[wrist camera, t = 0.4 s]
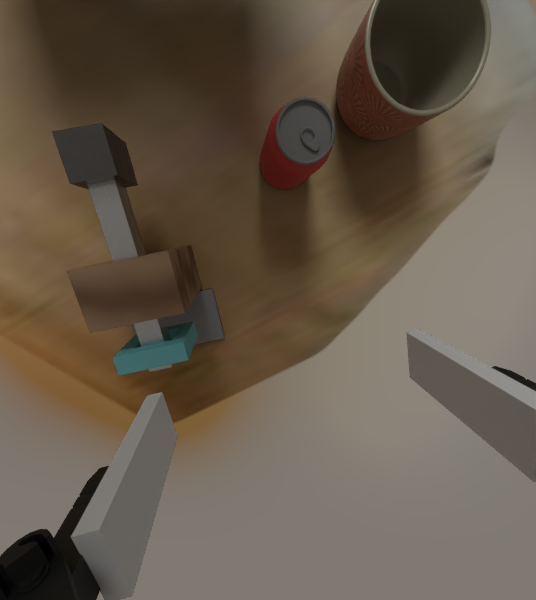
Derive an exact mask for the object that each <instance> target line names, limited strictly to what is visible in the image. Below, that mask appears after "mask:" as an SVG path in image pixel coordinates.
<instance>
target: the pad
mask: <svg viewBox="0 0 536 600" xmlns="http://www.w3.org/2000/svg"><path fill="white" fill-rule="evenodd" d="M165 320H166V323H167V327H168V326H173V325H177V324H182V323H187V322H192V321H194V323H195V327H196V331H197V334H198V337H197V339H196V342H195V345H197V344H201V343H206V342H210V341H215V340H219V339H224V338H225V337H224V332H223V328H222V324H221V320H220V316H219V312H218V308H217V304H216V300H215V296H214V292H213V288H211V289H206V290H201V291H199V292H198V294H197V295H196V297H195V298H194V300H193V301H192V303H191V305H190V306H189V308H188V309H187V311H186V312H185V313H182V314H178V315H173V316H168V317H165ZM132 325H133V328H134V331H135V334H137V333H136V330H135V327H134V324H132Z"/></svg>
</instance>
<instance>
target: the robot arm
mask: <svg viewBox="0 0 536 600" xmlns="http://www.w3.org/2000/svg"><path fill="white" fill-rule="evenodd" d="M407 344H408V357H409V371H410V378H411V379H412V380H414V381H415V382H416V383H417V384H418V385H419V386H421V387H422V388H423V389H424V390H425V391H427V392H428V393H429V394H430V395H431V396H433V397H434V398H435V399H436V400H437V401H438V402H440V403H441V404H442V405H443V406H445V407H446V408H447V409H448V410H449V411H450V412H451V413H453V414H454V415H455V416H456V417H457V418H459V419H460V420H461V421H462V422H463V423H465V424H466V425H467V426H468V427H469V428H470V429H472V430H473V431H474V432H475V433H476V434H478V435H479V436H480V437H481V438H482V439H483V440H485V441H486V442H487V443H488V444H489V445H491V446H492V447H493V448H494V449H495V450H496V451H498V452H499V453H500V454H501V455H502V456H504V457H505V458H506V459H507V460H508V461H509V462H511V463H512V464H513V465H514V466H515V467H517V468H518V469H519V470H520V471H521V472H523V473H524V474H525V475H526V476H527V477H529V478H530V479H531V480H532V481H533V482H536V383H534V382H532V381H530V380H528V379H527V380H526V379H525V378H524V377H522V376H520V375H518V374H516V373H514V372H512V371H510V370H506V369H503V368H499V367H496V366H494V367H489V366H488V365H486V364H484V363H482V362H480V361H478V360H476V359H475V358H473V357H471V356H469V355H467V354H465V353H463V352H461V351H460V350H458V349H456V348H454V347H452V346H450V345H448V344H446V343H445V342H443V341H441V340H439V339H437V338H435V337H434V336H432V335H430V334H428V333H426V332H424V331H422V330H421V329H419V330H415V331H411V332H407ZM177 437H178V436H177V433H176V430H175V427H174V424H173V421H172V419H171V416H170V413H169V410H168V407H167V404H166V401H165V399H164V396H163V393H162V392H160V393H156V394H151V395H147V397H146V398H145V400H144V402H143V404H142V406H141V408H140V410H139V411H138V413H137V415H136V417H135V419H134V421H133V423H132V424H131V426H130V428H129V430H128V432H127V434H126V436H125V438H124V439H123V441H122V443H121V445H120V447H119V449H118V450H117V453H116V454H115V456H114V458H113V460H112V462H111V463H110V465H109V466H106V467H102V468H100V469H98V471H97V472H96V473H95V474H94V475H93V476H92V477H91V478H90V479H89V480H88V481H87V483H86V485H85V486H84V488H83V490H82V492H81V493H80V497H78V498H77V500H76V502H75V503H74V505H73V509H71V510H70V512H69V514H68V515H67V517H66V518H65V520H64V522H63V524H62V525H61V527H60V529H59V530H58V532H57V534H56V536H55V537H54V538H53V537H52V535H51V533H50V532H49V531H48V530H47V529H39V530H36V531H34V532H31V533H29V534H27V535H25V536H24V537H22V538H21V539H19V540H17V541H16V542H15V543H14V544H13V545H11V546H10V547H9V548H8V549H7V550H6V551H5V552H4V553H3V554H2V555H1V556H0V600H96V599H97V596H98V594H99V591H100V592H101V594H102V595H103V597H104V599H105V600H120V599H124V598H127V597H131V596H133V592H134V589H135V585H136V582H137V578H138V575H139V571H140V568H141V564H142V561H143V557H144V553H145V550H146V546H147V543H148V539H149V536H150V532H151V529H152V525H153V522H154V518H155V515H156V511H157V507H158V504H159V501H160V497H161V493H162V490H163V486H164V483H165V479H166V476H167V472H168V469H169V465H170V462H171V458H172V455H173V451H174V448H175V444H176V440H177Z"/></svg>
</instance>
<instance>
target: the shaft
mask: <svg viewBox="0 0 536 600" xmlns="http://www.w3.org/2000/svg"><path fill="white" fill-rule="evenodd" d="M52 133H53V136H54V139H55V142H56V145H57V148H58V151H59V153H60V156H61V159H62V162H63V165H64V168H65V171H66V174H67V177H68V179H69V182H70V184H73V185H76V186H80V187H83V188H86V189H89V190H90V193H91V197H92V200H93V203H94V206H95V209H96V212H97V215H98V218H99V221H100V224H101V227H102V230H103V233H104V236H105V239H106V242H107V245H108V248H109V251H110V254H111V257H112V260H113V261H118V260H124V259H129V258H134V257H139V256H144V255H146V253H145V250H144V246H143V243H142V239H141V236H140V233H139V229H138V226H137V223H136V219H135V216H134V213H133V209H132V206H131V203H130V199H129V196H128V193H127V189H126V187H131V186H137V185H138V184H137V181H136V177H135V174H134V170H133V167H132V163H131V160H130V156H129V153H128V149H127V146H126V143H125V142H124V141H123V140H121V139H120V138H119V137H118V136H117V135H115V134H114V133H113V132H112V131H111V130H109V129H108V128H107V127H106V126H104V125H103V124H102V123H101V124H95V125H89V126H83V127H77V128H70V129H64V130H58V131H52ZM134 327H135V330H136V333H137V336H138V339H139V342H140V345H141V347H142V346H147V345H151V344H156V343H160V342H165V341H170V340H171V337H170V333H169V330H168V327H167V323H166V320H165V317H163V318H159V319H154V320H149V321H144V322H140V323H135V324H134ZM172 366H173V364H170V365H165V366H161V367H156V368H152V369H149V372H153V371H157V370H162V369H166V368H171V367H172Z"/></svg>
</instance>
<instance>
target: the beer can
mask: <svg viewBox="0 0 536 600" xmlns="http://www.w3.org/2000/svg"><path fill="white" fill-rule="evenodd" d="M334 138H335V124H334V119H333V117H332V115H331V113H330V111H329V109H328V108H327V107H326V106H325V105H324V104H323V103H322V102H320V101H318V100H317V99H315V98H310V97H301V98H296V99H294V100H292V101H291V102H289V103H287V104H286V105H285V106H283V107H282V108H281V109H280V110H279V111H278V112H277V113H276V115H275V116H274V117H273V118H272V121H271V123H270V126H269V128H268V132H267V135H266V138H265V142H264V145H263V148H262V151H261V155H260V168H261V172H262V174H263V176H264V178H265V180H266V181H267V182H268V183H269V184H270V185H272V186H274V187H276V188H278V189H284V190H287V189H292V188H294V187H296V186H298V185H299V184H301V183H302V182H303V181H304V180H306V179H307V178H308V177H309V176H311V175H312V174H313V173H315V172H316V171H317V170H318V169H320V167H321V166H322V165H323V164H324V163H325V162H326V161H327V159H328V156H329V154H330V152H331V149H332V145H333V143H334Z"/></svg>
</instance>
